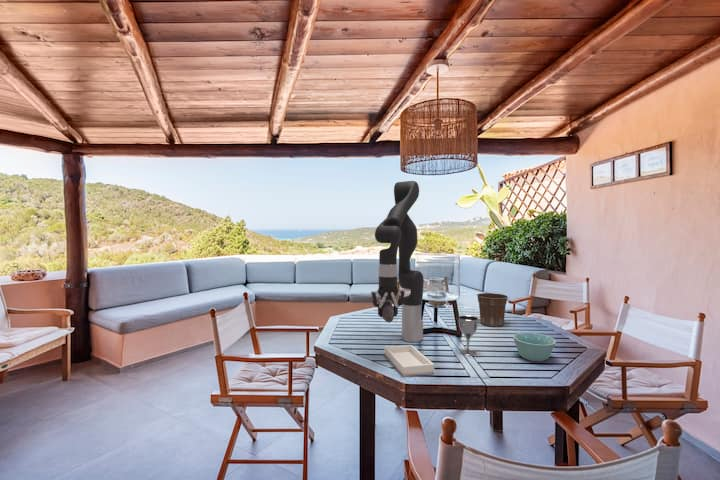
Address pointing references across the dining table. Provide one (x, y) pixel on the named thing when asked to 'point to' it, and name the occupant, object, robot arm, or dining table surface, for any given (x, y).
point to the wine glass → (468, 331)
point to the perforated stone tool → (387, 311)
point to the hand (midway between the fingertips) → (387, 316)
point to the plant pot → (492, 309)
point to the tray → (409, 361)
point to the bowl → (534, 346)
